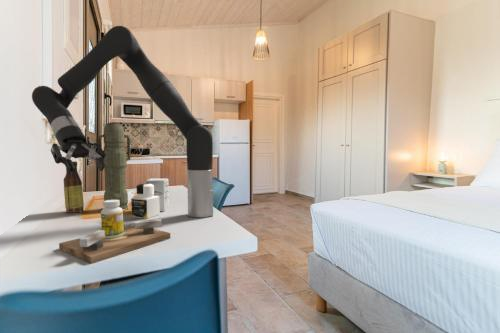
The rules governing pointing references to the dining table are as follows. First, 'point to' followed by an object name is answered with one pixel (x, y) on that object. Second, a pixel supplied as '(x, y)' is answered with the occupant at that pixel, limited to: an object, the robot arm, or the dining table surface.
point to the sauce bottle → (73, 191)
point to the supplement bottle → (112, 219)
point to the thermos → (115, 163)
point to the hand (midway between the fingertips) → (88, 170)
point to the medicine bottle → (145, 202)
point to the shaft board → (115, 241)
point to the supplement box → (161, 191)
